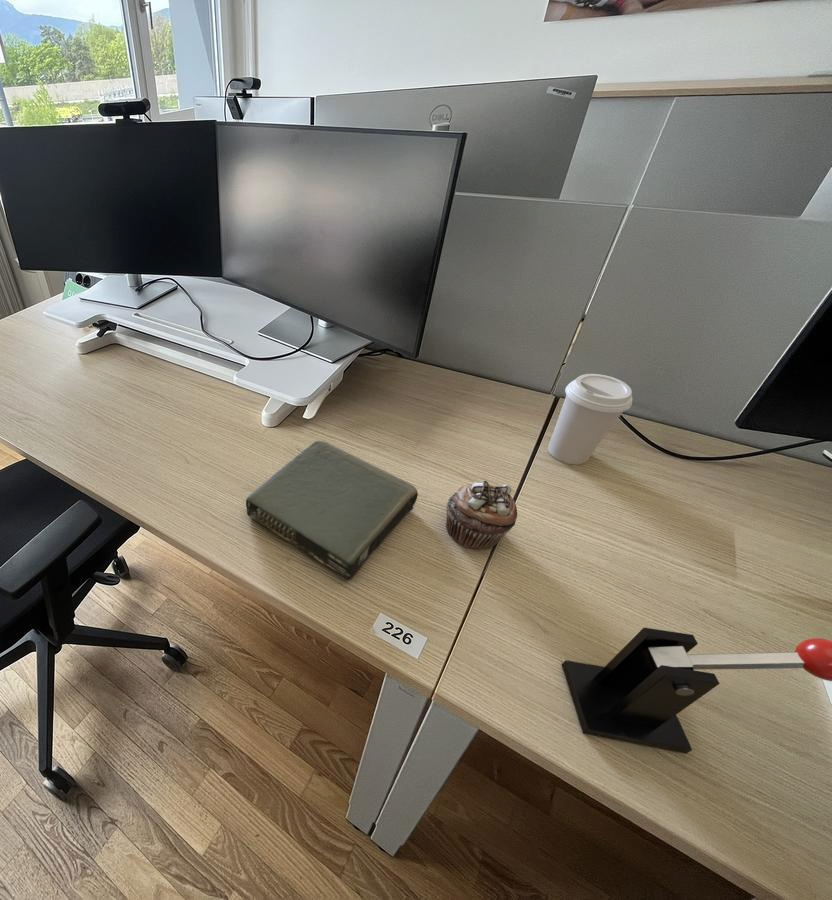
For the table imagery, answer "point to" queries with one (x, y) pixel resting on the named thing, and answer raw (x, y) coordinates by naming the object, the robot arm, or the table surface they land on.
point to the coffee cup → (588, 416)
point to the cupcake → (480, 515)
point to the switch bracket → (638, 693)
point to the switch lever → (751, 659)
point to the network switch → (332, 506)
